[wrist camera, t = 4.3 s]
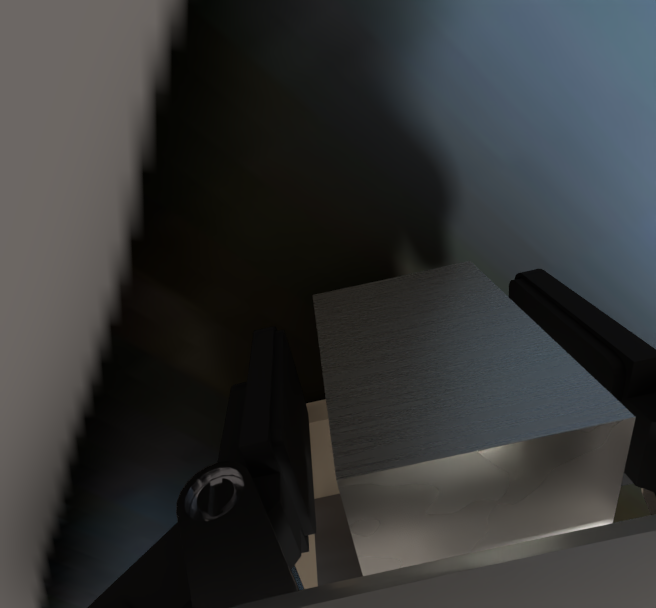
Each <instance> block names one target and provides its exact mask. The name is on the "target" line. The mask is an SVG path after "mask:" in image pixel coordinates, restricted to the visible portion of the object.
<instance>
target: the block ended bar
mask: <svg viewBox="0 0 656 608" xmlns="http://www.w3.org/2000/svg"><path fill="white" fill-rule="evenodd" d="M313 303H314V311H315V318H316V326H317V334H318V342H319V349H320V357H321V365H322V373H323V381H324V388H325V396H326V404H327V412H328V419H329V427H330V435H331V443H332V450H333V458H334V466H335V474H336V481H337V485H338V488H339V492H340V495H341V499H342V503H343V506H344V510H345V513H346V517H347V521H348V524H349V528H350V531H351V535H352V539H353V542H354V546H355V549H356V553H357V557H358V560H359V564H360V567H361V571H362V575H363V576H366V575H371V574H376V573H380V572H385V571H390V570H394V569H399V568H403V567H408V566H413V565H417V564H422V563H427V562H431V561H436V560H441V559H445V558H450V557H455V556H459V555H464V554H468V553H473V552H478V551H483V550H487V549H492V548H497V547H502V546H506V545H511V544H516V543H521V542H525V541H530V540H535V539H540V538H544V537H549V536H554V535H559V534H564V533H568V532H573V531H578V530H583V529H587V528H592V527H597V526H602V525H607V524H611V523H613V519H614V515H615V510H616V506H617V501H618V496H619V492H620V487H621V483H622V478H623V474H624V469H625V464H626V460H627V455H628V451H629V446H630V441H631V437H632V432H633V428H634V423H635V418H636V417H635V416H634V415H633V414H632V413H631V412H630V411H629V410H628V409H627V408H626V407H625V406H623V405H622V404H621V403H620V402H619V401H618V400H617V399H616V398H615V397H614V396H613V395H612V394H611V393H610V392H609V391H608V390H606V389H605V388H604V387H603V386H602V385H601V384H600V383H599V382H598V381H597V380H596V379H595V378H594V377H593V376H592V375H591V374H589V373H588V372H587V371H586V370H585V369H584V368H583V367H582V366H581V365H580V364H579V363H578V362H577V361H576V360H575V359H574V358H572V357H571V356H570V355H569V354H568V353H567V352H566V351H565V350H564V349H563V348H562V347H561V346H560V345H559V344H558V343H557V342H555V341H554V340H553V339H552V338H551V337H550V336H549V335H548V334H547V333H546V332H545V331H544V330H543V329H542V328H541V327H540V326H538V325H537V324H536V323H535V322H534V321H533V320H532V319H531V318H530V317H529V316H528V315H527V314H526V313H525V312H524V311H523V310H521V309H520V308H519V307H518V306H517V305H516V304H515V303H514V302H513V301H512V300H511V299H510V298H509V297H508V296H507V295H506V294H504V293H503V292H502V291H501V290H500V289H499V288H498V287H497V286H496V285H495V284H494V283H493V282H492V281H491V280H490V279H489V278H487V277H486V276H485V275H484V274H483V273H482V272H481V271H480V270H479V269H478V268H477V267H476V266H475V265H474V264H473V263H472V262H470V261H467V262H463V263H458V264H454V265H449V266H444V267H440V268H435V269H431V270H426V271H421V272H417V273H412V274H408V275H403V276H399V277H394V278H389V279H385V280H380V281H376V282H371V283H366V284H362V285H357V286H353V287H348V288H343V289H339V290H334V291H330V292H325V293H321V294H316V295H313Z"/></svg>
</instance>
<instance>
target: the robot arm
mask: <svg viewBox="0 0 656 608" xmlns="http://www.w3.org/2000/svg"><path fill="white" fill-rule="evenodd" d="M509 298H510V299H511V300H512V301H513V302H514V303H515V304H516V305H517V306H518V307H519V308H520V309H521V310H523V311H524V312H525V313H526V314H527V315H528V316H529V317H530V318H531V319H532V320H533V321H534V322H535V323H536V324H537V325H538V326H540V327H541V328H542V329H543V330H544V331H545V332H546V333H547V334H548V335H549V336H550V337H551V338H552V339H553V340H554V341H555V342H557V343H558V344H559V345H560V346H561V347H562V348H563V349H564V350H565V351H566V352H567V353H568V354H569V355H570V356H571V357H572V358H574V359H575V360H576V361H577V362H578V363H579V364H580V365H581V366H582V367H583V368H584V369H585V370H586V371H587V372H588V373H589V374H591V375H592V376H593V377H594V378H595V379H596V380H597V381H598V382H599V383H600V384H601V385H602V386H603V387H604V388H605V389H606V390H608V391H609V392H610V393H611V394H612V395H613V396H614V397H615V398H616V399H617V400H618V401H619V402H620V403H621V404H622V405H623V406H625V407H626V408H627V409H628V410H629V411H630V412H631V413H632V414H633V415H634V416H635V417H636V418H635V423H634V428H633V432H632V437H631V441H630V446H629V451H628V455H627V460H626V464H625V469H624V474H623V478H622V483H621V486H623V485H628V484H633V483H634V484H635V485H636V486H638V487H641V489H642V494H643V496H644V499H645V501H646V504H647V506H648V509H649V511H650V514H651V515H650V516H645V517H640V518H635V519H631V520H626V521H621V522H616V523H611V524H607V525H602V526H597V527H592V528H587V529H583V530H578V531H573V532H568V533H564V534H559V535H554V536H549V537H544V538H540V539H535V540H530V541H525V542H521V543H516V544H511V545H506V546H502V547H497V548H492V549H487V550H483V551H478V552H473V553H468V554H464V555H459V556H455V557H450V558H445V559H441V560H436V561H431V562H427V563H422V564H417V565H413V566H408V567H403V568H399V569H394V570H390V571H385V572H380V573H376V574H371V575H366V576H362V577H357V578H352V579H348V580H343V581H339V582H334V583H330V584H325V585H321V586H317V587H313V588H308V589H304V590H300V591H299V588H298V586H297V583H296V581H295V578H294V576H293V573H292V571H291V569H292V568H293V566H294V565H295V564H296V562H297V561H298V560H299V559H300V557H301V553H305V552H309V536H308V535H312V534H316V515H315V500H314V486H313V471H312V457H311V443H310V428H309V416H308V410H307V406H306V402H305V399H304V396H303V392H302V389H301V385H300V382H299V378H298V375H297V372H296V368H295V365H294V361H293V358H292V354H291V351H290V348H289V344H288V341H287V337H286V334H285V331H284V330H280V331H277V329H276V327H275V326H273V327H269V328H264V329H260V330H255V331H254V333H253V341H252V349H251V356H250V364H249V372H248V379H247V382H244V383H240V384H235V385H233V386H232V388H231V392H230V397H229V403H228V408H227V414H226V419H225V425H224V430H223V436H222V441H221V447H220V452H219V458H218V463H215V464H212V465H210V466H207V467H206V468H204V469H202V470H201V471H199V472H198V473H196V474H195V475H194V476H193V477H192V478H191V479H190V480H189V481H188V482H187V483H186V485H185V486H184V488H183V489H182V491H181V492H180V495H179V498H178V500H177V510H176V513H177V519H178V523H177V524H175V525H174V526H173V527H172V528H171V529H170V530H169V531H168V532H167V533H166V534H165V535H164V536H163V537H162V538H161V539H160V540H159V541H157V542H156V543H155V544H154V545H153V546H152V547H151V548H150V549H149V550H148V551H147V552H146V553H145V554H144V555H143V556H142V557H141V558H139V559H138V560H137V561H136V562H135V563H134V564H133V565H132V566H131V567H130V568H129V569H128V570H127V571H126V572H125V573H124V574H123V575H121V576H120V577H119V578H118V579H117V580H116V581H115V582H114V583H113V584H112V585H111V586H110V587H109V588H108V589H107V590H106V591H105V592H103V593H102V594H101V595H100V596H99V597H98V598H97V599H96V600H95V601H94V602H93V603H92V604H91V605H90V606H89V607H88V608H656V349H654V348H653V347H651V346H650V345H649V344H647V343H646V342H644V341H643V340H642V339H640V338H639V337H637V336H636V335H634V334H633V333H632V332H630V331H629V330H627V329H626V328H625V327H623V326H622V325H620V324H619V323H618V322H616V321H615V320H613V319H612V318H610V317H609V316H608V315H606V314H605V313H603V312H602V311H601V310H599V309H598V308H596V307H595V306H593V305H592V304H591V303H589V302H588V301H586V300H585V299H584V298H582V297H581V296H579V295H578V294H577V293H575V292H574V291H572V290H571V289H569V288H568V287H567V286H565V285H564V284H562V283H561V282H560V281H558V280H557V279H555V278H554V277H553V276H551V275H550V274H548V273H547V272H545V271H544V270H542V269H536V270H531V271H526V272H522V273H518V274H517V275H516V277H515V280H511V281H510V283H509Z"/></svg>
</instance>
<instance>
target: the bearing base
mask: <svg viewBox="0 0 656 608" xmlns="http://www.w3.org/2000/svg"><path fill="white" fill-rule="evenodd" d="M306 406H307V410H308V416H309V428H310V443H311V457H312V471H313V486H314V500H315V515H316V534H312V535H308V536H309V552H305V553H301V557H300V559H299V560H298V561H297V562H296V564H295V567H296V569H297V572H298V574H299V577H300V579H301V582H302V584H303V586H304V589H308V588H313V587H317V586H321V585H325V584H330V583H334V582H339V581H343V580H348V579H352V578H357V577H362V576H363V575H362V571H361V567H360V564H359V560H358V557H357V553H356V549H355V546H354V542H353V539H352V535H351V531H350V528H349V524H348V521H347V517H346V513H345V510H344V506H343V503H342V499H341V495H340V492H339V488H338V485H337V481H336V474H335V466H334V458H333V450H332V443H331V435H330V427H329V419H328V412H327V404H326V399H325V400H320V401H315V402H311V403H306Z"/></svg>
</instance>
